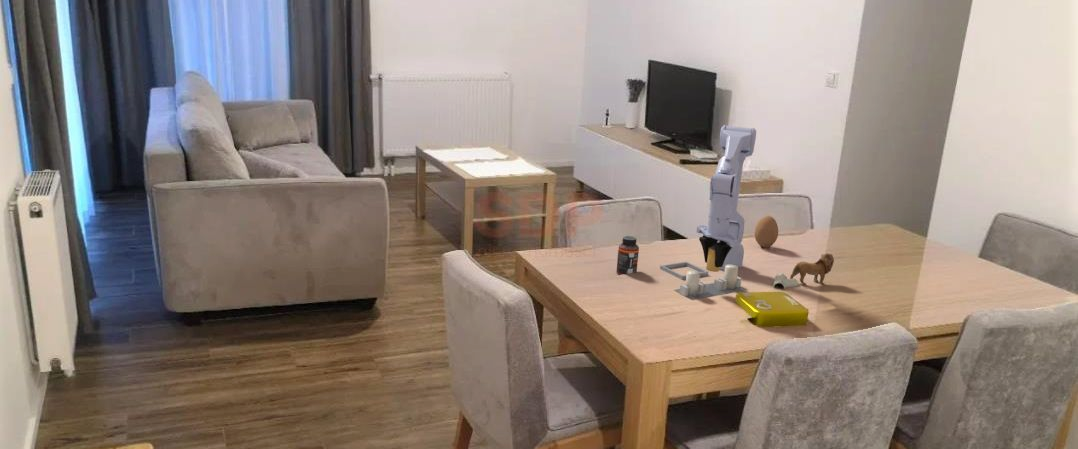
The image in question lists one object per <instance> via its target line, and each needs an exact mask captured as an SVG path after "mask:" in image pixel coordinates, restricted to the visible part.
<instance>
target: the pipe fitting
mask: <svg viewBox="0 0 1078 449" xmlns="http://www.w3.org/2000/svg"><path fill="white" fill-rule="evenodd" d="M777 284H781V285H782V286H783V290H785V289H786V288H793V287H798V286H799V285H800V284H799V282H798V280H797V279H796V278H793V279H790V278H788V277H787V276H786V274H784V273H777V274H775V277H774V281H773V285H772V288H773V289H774V288H775V285H777Z"/></svg>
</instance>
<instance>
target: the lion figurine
mask: <svg viewBox="0 0 1078 449" xmlns="http://www.w3.org/2000/svg"><path fill="white" fill-rule="evenodd" d="M834 263H835V259H834V256H833V254H832V253H831V252H830V253H829V252H825V253H823V254H821V256H820V258H819V259H818V260H817V261H815V262H807V261H800V262H798V263H796V265H794V268H793V270H792V273H791V274H790V276H789V279H794V277H796V276H797V275H798V274H799V276H800V278H799V282H800V284H801V285H802V286H804V285H806V286H807V283H806V282H804V279H805V277H806V275H810V276H813V282H814V283H818V282H819V283H820V284H819V285H821V286H824V285H825V282H824V280H825V276H826V275H828V274H829V273H830V272H831V270H832V268H833V266H834ZM819 276H820V279H818V277H819Z"/></svg>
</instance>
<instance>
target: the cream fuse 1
mask: <svg viewBox="0 0 1078 449" xmlns="http://www.w3.org/2000/svg"><path fill="white" fill-rule="evenodd" d="M685 275H686V279H685V284H684V285H685V286H687V287H689V290H688V295H691V296H696V295H698V288H699V283H700V280H701V279H700V278H701V276H700V272H698V271H696V270H687V271H686V274H685Z"/></svg>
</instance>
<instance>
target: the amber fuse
mask: <svg viewBox="0 0 1078 449" xmlns="http://www.w3.org/2000/svg"><path fill="white" fill-rule="evenodd" d="M705 270H706V271H708V272H711V273H712V272H714V273H716V272H720V270H721V269H720V267H715V248H714V246H711V247H709V250H708V259H707V263H706V268H705Z"/></svg>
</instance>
